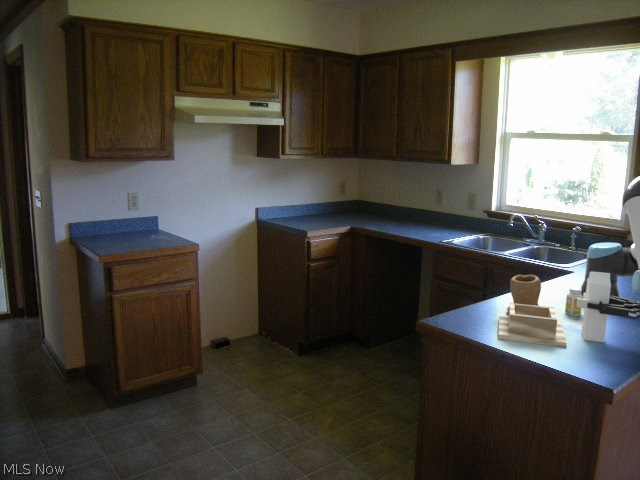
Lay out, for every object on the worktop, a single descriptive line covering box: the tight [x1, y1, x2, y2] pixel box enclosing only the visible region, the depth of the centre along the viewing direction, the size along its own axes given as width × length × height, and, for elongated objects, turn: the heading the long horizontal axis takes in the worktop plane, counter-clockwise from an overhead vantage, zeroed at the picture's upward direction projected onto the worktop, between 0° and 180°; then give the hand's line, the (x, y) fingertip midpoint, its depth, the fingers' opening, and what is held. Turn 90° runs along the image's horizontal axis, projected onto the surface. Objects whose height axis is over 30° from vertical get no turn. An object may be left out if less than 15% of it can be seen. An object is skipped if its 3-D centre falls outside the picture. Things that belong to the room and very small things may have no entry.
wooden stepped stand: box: [497, 302, 567, 348], centre depth 179 cm, size 20×20×8 cm
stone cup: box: [506, 274, 542, 313], centre depth 196 cm, size 15×12×15 cm
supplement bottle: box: [564, 286, 583, 317], centre depth 200 cm, size 5×5×10 cm
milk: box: [581, 272, 611, 343], centre depth 174 cm, size 6×6×22 cm
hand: (580, 299), depth 177 cm, fingers closed on milk, 7 cm apart
